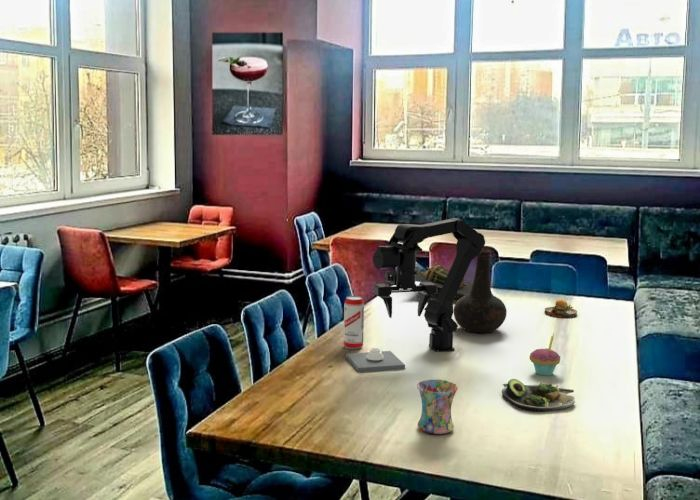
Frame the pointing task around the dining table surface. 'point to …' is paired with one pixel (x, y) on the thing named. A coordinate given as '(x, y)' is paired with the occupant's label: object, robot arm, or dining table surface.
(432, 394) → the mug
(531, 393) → the salad plate
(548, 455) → the dining table surface
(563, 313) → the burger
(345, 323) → the beer can
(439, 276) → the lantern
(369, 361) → the coaster
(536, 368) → the cupcake
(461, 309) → the dark brown vase
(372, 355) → the white jar
